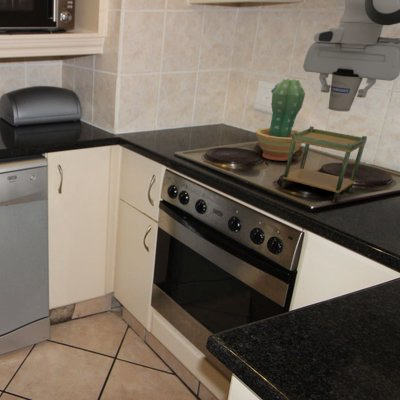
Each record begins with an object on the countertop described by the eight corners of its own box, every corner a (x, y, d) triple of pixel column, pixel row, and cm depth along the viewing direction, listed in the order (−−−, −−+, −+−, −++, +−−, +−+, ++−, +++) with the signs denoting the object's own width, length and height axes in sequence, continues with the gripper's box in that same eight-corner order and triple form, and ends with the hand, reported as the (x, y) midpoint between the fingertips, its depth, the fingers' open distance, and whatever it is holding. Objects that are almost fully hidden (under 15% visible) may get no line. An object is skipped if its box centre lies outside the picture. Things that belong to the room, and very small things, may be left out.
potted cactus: (304, 153, 161) (318, 78, 152) (302, 165, 148) (318, 83, 139) (254, 148, 168) (265, 75, 159) (249, 159, 155) (260, 81, 146)
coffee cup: (337, 106, 124) (347, 66, 120) (361, 111, 118) (373, 70, 114) (316, 107, 122) (326, 67, 118) (340, 113, 115) (351, 70, 112)
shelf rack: (351, 191, 130) (367, 136, 124) (336, 202, 122) (352, 144, 116) (298, 178, 139) (310, 126, 133) (280, 187, 132) (292, 133, 126)
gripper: (414, 38, 108) (395, 99, 113) (317, 32, 122) (304, 87, 127) (406, 39, 104) (387, 102, 109) (307, 33, 118) (295, 90, 123)
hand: (342, 94), depth 118 cm, fingers closed on coffee cup, 7 cm apart
